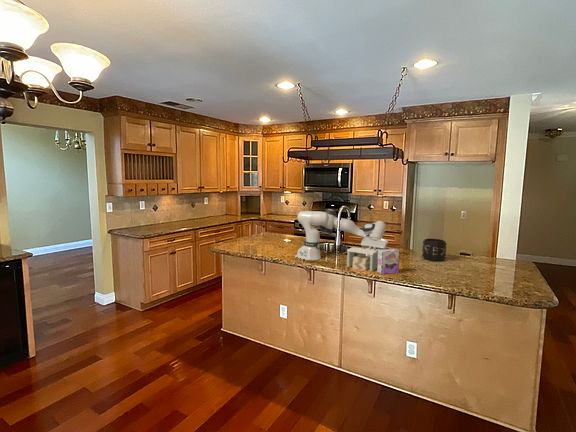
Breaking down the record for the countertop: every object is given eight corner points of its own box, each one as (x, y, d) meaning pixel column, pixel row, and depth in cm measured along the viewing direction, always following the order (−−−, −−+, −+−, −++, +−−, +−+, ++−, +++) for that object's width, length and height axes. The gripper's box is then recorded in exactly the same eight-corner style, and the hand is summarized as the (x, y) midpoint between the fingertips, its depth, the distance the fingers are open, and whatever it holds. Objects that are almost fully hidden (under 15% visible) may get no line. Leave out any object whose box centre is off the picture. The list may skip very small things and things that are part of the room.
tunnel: (346, 266, 254) (347, 249, 252) (352, 263, 262) (353, 247, 260) (372, 271, 242) (372, 253, 241) (377, 268, 250) (378, 250, 249)
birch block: (352, 268, 251) (352, 257, 250) (358, 265, 259) (358, 254, 258) (365, 270, 245) (365, 259, 244) (370, 267, 253) (370, 256, 252)
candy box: (381, 274, 235) (382, 251, 233) (376, 272, 241) (377, 249, 239) (398, 273, 239) (399, 250, 237) (394, 270, 244) (395, 248, 242)
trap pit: (350, 269, 248) (350, 268, 248) (351, 268, 250) (351, 267, 250) (363, 271, 242) (363, 271, 242) (364, 270, 244) (364, 270, 244)
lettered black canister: (420, 260, 273) (421, 241, 271) (422, 255, 289) (424, 237, 287) (444, 263, 265) (446, 243, 263) (446, 258, 281) (447, 239, 279)
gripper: (389, 242, 267) (384, 256, 260) (365, 239, 279) (360, 252, 272) (388, 237, 263) (382, 252, 256) (363, 234, 274) (357, 248, 268)
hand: (370, 252), depth 264 cm, fingers closed
